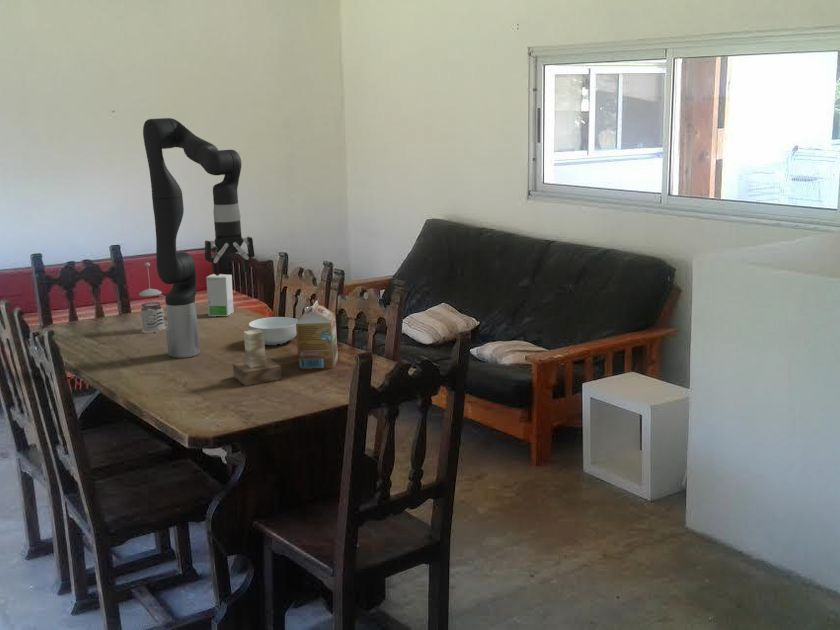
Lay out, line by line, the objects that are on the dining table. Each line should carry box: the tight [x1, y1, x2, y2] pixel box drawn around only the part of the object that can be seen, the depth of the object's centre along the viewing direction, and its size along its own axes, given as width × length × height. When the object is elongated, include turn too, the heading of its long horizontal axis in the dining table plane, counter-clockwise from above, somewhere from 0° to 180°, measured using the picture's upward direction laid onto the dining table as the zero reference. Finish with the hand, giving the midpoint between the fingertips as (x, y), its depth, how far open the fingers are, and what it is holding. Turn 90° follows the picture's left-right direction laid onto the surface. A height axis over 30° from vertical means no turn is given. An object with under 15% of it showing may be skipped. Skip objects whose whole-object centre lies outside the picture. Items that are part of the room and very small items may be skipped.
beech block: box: [243, 329, 267, 368], centre depth 274 cm, size 5×5×10 cm
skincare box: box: [205, 273, 235, 317], centre depth 361 cm, size 8×7×16 cm
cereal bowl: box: [248, 316, 299, 346], centre depth 316 cm, size 17×17×7 cm
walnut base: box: [232, 357, 282, 387], centre depth 275 cm, size 11×11×4 cm
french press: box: [138, 261, 167, 331], centre depth 340 cm, size 10×12×25 cm
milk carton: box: [296, 299, 339, 370], centre depth 286 cm, size 10×11×19 cm
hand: (231, 273), depth 278 cm, fingers open, 8 cm apart
